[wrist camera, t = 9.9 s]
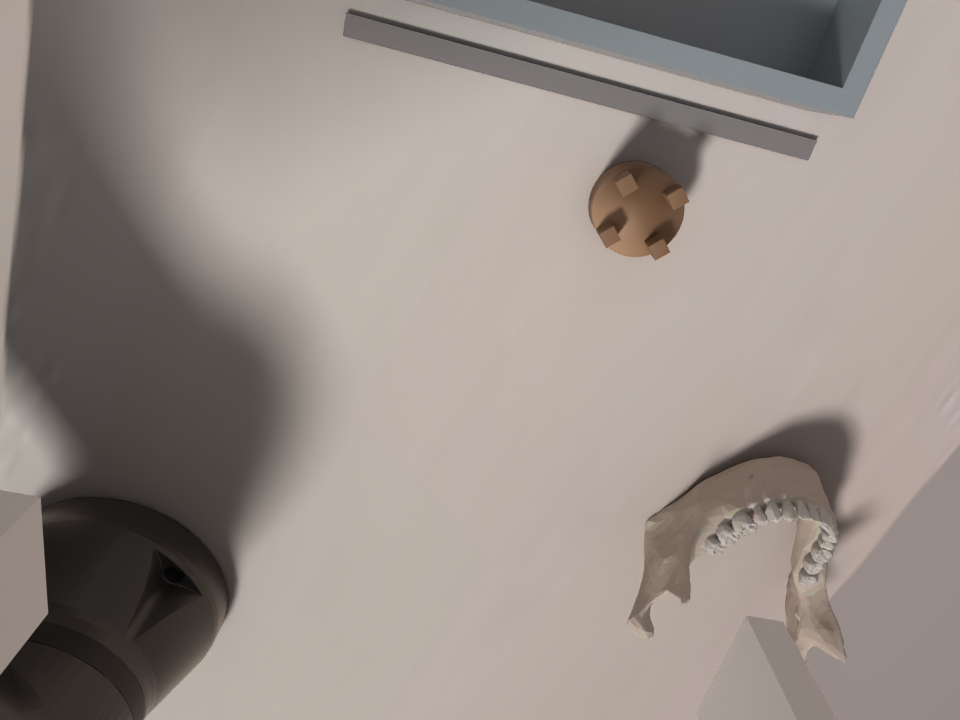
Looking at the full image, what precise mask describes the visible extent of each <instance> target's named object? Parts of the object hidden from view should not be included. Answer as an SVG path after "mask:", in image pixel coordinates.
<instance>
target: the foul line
mask: <svg viewBox="0 0 960 720" xmlns="http://www.w3.org/2000/svg"><path fill="white" fill-rule="evenodd" d="M343 36H346V37H350V38H353V39H357V40H361V41H365V42H368V43H372V44H376V45H380V46H383V47H387V48H391V49H394V50H398V51H402V52H406V53H409V54H413V55H417V56H421V57H424V58H428V59H432V60H435V61H439V62H443V63H447V64H450V65H454V66H458V67H462V68H465V69H469V70H473V71H476V72H480V73H484V74H488V75H491V76H495V77H499V78H503V79H506V80H510V81H514V82H517V83H521V84H525V85H529V86H532V87H536V88H540V89H543V90H547V91H551V92H555V93H558V94H562V95H566V96H570V97H573V98H577V99H581V100H584V101H588V102H592V103H596V104H599V105H603V106H607V107H611V108H614V109H618V110H622V111H625V112H629V113H633V114H637V115H640V116H644V117H648V118H652V119H655V120H659V121H663V122H666V123H670V124H674V125H678V126H681V127H685V128H689V129H693V130H696V131H700V132H704V133H707V134H711V135H715V136H719V137H722V138H726V139H730V140H733V141H737V142H741V143H745V144H748V145H752V146H756V147H760V148H763V149H767V150H771V151H774V152H778V153H782V154H786V155H789V156H793V157H797V158H801V159H804V160H809V158H810V155H811V153H812V151H813V149H814V146H815V144H816V142H817V140H813V139H809V138H806V137H802V136H798V135H794V134H791V133H787V132H783V131H780V130H776V129H772V128H769V127H765V126H761V125H758V124H754V123H750V122H747V121H743V120H739V119H736V118H732V117H728V116H724V115H721V114H717V113H713V112H710V111H706V110H702V109H699V108H695V107H691V106H688V105H684V104H680V103H677V102H673V101H669V100H666V99H662V98H658V97H654V96H651V95H647V94H643V93H640V92H636V91H632V90H629V89H625V88H621V87H618V86H614V85H610V84H607V83H603V82H599V81H596V80H592V79H588V78H585V77H581V76H577V75H573V74H570V73H566V72H562V71H559V70H555V69H551V68H548V67H544V66H540V65H537V64H533V63H529V62H526V61H522V60H518V59H515V58H511V57H507V56H503V55H500V54H496V53H492V52H489V51H485V50H481V49H478V48H474V47H470V46H467V45H463V44H459V43H456V42H452V41H448V40H445V39H441V38H437V37H434V36H430V35H426V34H422V33H419V32H415V31H411V30H408V29H404V28H400V27H397V26H393V25H389V24H386V23H382V22H378V21H375V20H371V19H367V18H364V17H360V16H356V15H352V14H349V13H346V19H345V26H344V34H343Z"/></svg>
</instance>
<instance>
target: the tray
mask: <svg viewBox="0 0 960 720" xmlns="http://www.w3.org/2000/svg"><path fill="white" fill-rule="evenodd" d="M407 1H411V2H415V3H418V4H422V5H426V6H429V7H433V8H437V9H440V10H444V11H447V12H451V13H455V14H458V15H462V16H466V17H469V18H473V19H477V20H480V21H484V22H487V23H491V24H495V25H498V26H502V27H506V28H509V29H513V30H516V31H520V32H524V33H527V34H531V35H535V36H538V37H542V38H546V39H549V40H553V41H556V42H560V43H564V44H567V45H571V46H575V47H578V48H582V49H585V50H589V51H593V52H596V53H600V54H604V55H607V56H611V57H615V58H618V59H622V60H625V61H629V62H633V63H636V64H640V65H644V66H647V67H651V68H655V69H658V70H662V71H665V72H669V73H673V74H676V75H680V76H684V77H687V78H691V79H694V80H698V81H702V82H705V83H709V84H713V85H716V86H720V87H724V88H727V89H731V90H734V91H738V92H742V93H745V94H749V95H753V96H756V97H760V98H763V99H767V100H771V101H774V102H778V103H782V104H785V105H789V106H793V107H796V108H800V109H803V110H807V111H813V112H818V113H824V114H830V115H836V116H842V117H848V118H854V116H855V114H856V112H857V110H858V107H859V105H860V103H861V101H862V99H863V96H864V94H865V92H866V90H867V88H868V85H869V83H870V81H871V79H872V77H873V75H874V72H875V70H876V68H877V66H878V64H879V61H880V59H881V57H882V55H883V53H884V50H885V48H886V46H887V44H888V42H889V40H890V37H891V35H892V33H893V31H894V29H895V26H896V24H897V22H898V20H899V18H900V16H901V13H902V11H903V9H904V7H905V5H906V2H907V0H407Z"/></svg>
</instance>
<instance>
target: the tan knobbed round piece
mask: <svg viewBox="0 0 960 720" xmlns="http://www.w3.org/2000/svg"><path fill="white" fill-rule="evenodd" d="M688 202H689V200H688V198H687V196H686V194H685V191H684V189H683V187H682V186H680V185H679V184H676V183H675V182H674V180H672V179H671V178H670V177H669V176H668V175H666V174H665V173H663V172H662V171H660V170H659V169H657V168H656V167H654V166H653V165H651V164H648V163H645V162H641V161H627V162H623V163H620V164H617V165H615V166H613V167H611V168H610V169H608V170H607V171H606V172H605V173H603V174H602V175H601V176H600V178H599V179H598V180H597V182H596V183H595V185H594V187H593V189H592V191H591V194H590V198H589V216H590V219H591V222H592V224H593V226H594V228H595V229H596V231H597V233H598V234H599V236H600V238H601V240H602V242H603V243H604V245H605V247H606V248H608V247H609V248H610V249H611V250H613V251H615V252H617V253H619V254H621V255H624V256H630V257H641V256H646V255H650V254H651V256H652V257H653V258H654V259H655V260H657V259H659V258H661V257H663V256H664V255H666V254H668V253H670V251H669V249H668V247H667V244H668V243H669V242H670V241H671V240H672V239H673V238H674V237H675V235H676V234H677V232H678V231H679V229H680V226H681V224H682V221H683V216H684V204H686V203H688Z"/></svg>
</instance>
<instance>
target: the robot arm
mask: <svg viewBox="0 0 960 720" xmlns="http://www.w3.org/2000/svg"><path fill="white" fill-rule="evenodd" d="M227 602H228V598H227V589H226V584H225V581H224V578H223V575H222V573H221V571H220V569H219V567H218V565H217V563H216V561H215V560H214V558H213V557H212V556H211V554H210V553H209V552H208V550H207V549H206V548H205V547H204V546H203V545H202V544H201V543H200V542H199V541H198V540H197V539H196V538H195V537H194V536H193V535H192V534H191V533H189V532H188V531H187V530H186V529H184V528H183V527H181V526H180V525H178V524H177V523H175V522H174V521H172V520H170V519H168V518H167V517H165V516H163V515H161V514H159V513H157V512H154V511H152V510H150V509H147V508H144V507H142V506H139V505H135V504H132V503H128V502H124V501H118V500H113V499H104V498H81V499H73V500H67V501H63V502H59V503H56V504H53V505H50V506H48V507H46V508H44V509H42V510H41V497H37V496H31V495H25V494H19V493H13V492H7V491H1V490H0V720H144V719H145V717H146V716H147V715H148V714H149V713H150V712H151V711H152V710H153V709H154V708H155V707H156V706H157V705H158V704H159V703H160V702H161V701H162V700H163V699H164V698H165V697H166V696H167V695H168V694H169V693H170V692H171V691H172V690H173V689H174V688H175V687H176V686H177V685H178V684H179V683H180V682H181V681H182V680H183V679H184V678H185V677H186V676H187V675H188V674H189V673H190V672H191V671H192V670H193V669H194V668H195V666H196V665H197V664H198V663H199V662H200V661H201V660H202V659H203V658H204V657H205V655H206V654H207V652H208V651H209V649H210V648H211V646H212V644H213V642H214V640H215V638H216V636H217V634H218V632H219V630H220V627H221V625H222V623H223V621H224V618H225V615H226V611H227ZM697 715H698V718H699V720H837V719H836V717H835V716H834V714H833V712H832V711H831V708H830V707H829V705H828V703H827V701H826V699H825V697H824V696H823V694H822V692H821V690H820V688H819V686H818V685H817V683H816V681H815V679H814V677H813V676H812V674H811V672H810V670H809V668H808V666H807V665H806V663H805V661H804V659H803V657H802V655H801V654H800V652H799V650H798V648H797V646H796V645H795V643H794V641H793V639H792V637H791V635H790V634H789V632H788V630H787V628H786V626H785V625H784V623H783V622H781V621H775V620H769V619H763V618H757V617H751V616H746V617H745V619H744V620H743V622H742V624H741V626H740V628H739V630H738V632H737V634H736V636H735V638H734V640H733V642H732V644H731V646H730V648H729V650H728V652H727V654H726V656H725V658H724V660H723V662H722V664H721V665H720V667H719V669H718V671H717V673H716V675H715V677H714V679H713V681H712V683H711V685H710V687H709V689H708V691H707V693H706V695H705V697H704V699H703V701H702V703H701V705H700V707H699V709H698V711H697Z"/></svg>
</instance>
